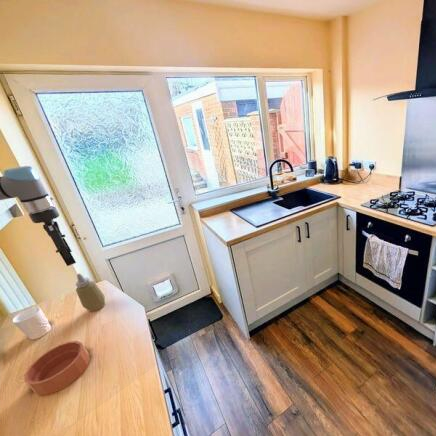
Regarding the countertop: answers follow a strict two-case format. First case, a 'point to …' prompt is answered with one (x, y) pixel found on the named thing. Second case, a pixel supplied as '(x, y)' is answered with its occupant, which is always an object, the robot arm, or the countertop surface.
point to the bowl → (57, 368)
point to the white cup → (32, 322)
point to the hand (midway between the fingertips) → (69, 258)
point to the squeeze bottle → (89, 294)
